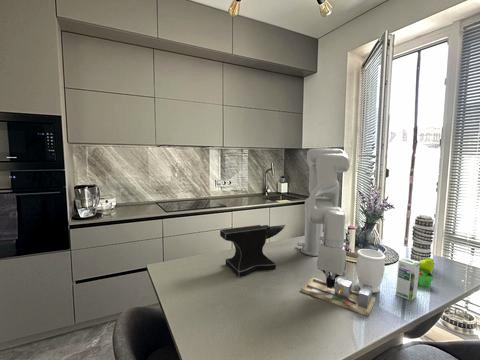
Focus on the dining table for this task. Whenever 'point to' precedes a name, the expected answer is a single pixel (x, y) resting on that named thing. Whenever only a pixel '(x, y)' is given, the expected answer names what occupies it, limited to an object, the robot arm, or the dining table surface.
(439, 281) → the dining table surface
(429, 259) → the fruit basket
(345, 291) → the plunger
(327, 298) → the gauge board
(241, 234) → the anvil
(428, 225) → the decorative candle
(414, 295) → the syrup box
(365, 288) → the gauge hardware
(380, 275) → the jar
